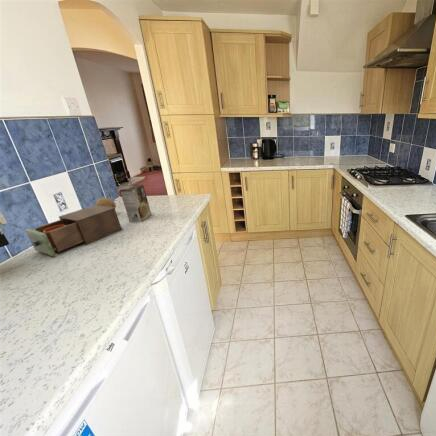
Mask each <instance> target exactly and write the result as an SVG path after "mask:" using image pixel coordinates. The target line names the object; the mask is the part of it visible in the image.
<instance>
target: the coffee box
mask: <svg viewBox="0 0 436 436" xmlns="http://www.w3.org/2000/svg"><path fill="white" fill-rule="evenodd" d="M144 186H145V185H144V184H130V185H128V186H126V187H124V188H122V189H119V190H118V191H119V194H120V197H121V199H122V203H123V205H124V208H125V212H126V215H127V218H128V221H129V222H143V221H145V220H146V219H147V218H148V217H150V216H152V211H151V207H150V204H149V201H148V197H147V193H146V191H145V187H144Z"/></svg>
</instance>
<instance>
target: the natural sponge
mask: <svg viewBox="0 0 436 436" xmlns="http://www.w3.org/2000/svg"><path fill="white" fill-rule="evenodd" d="M94 205H101V206H106V207H112V208H115V209H116V208H117V205H116V202H115V201H114V199H111V198H110V197H104V196H103V197H99V198H98V199H97V200H96V202H95V203H94Z"/></svg>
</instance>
